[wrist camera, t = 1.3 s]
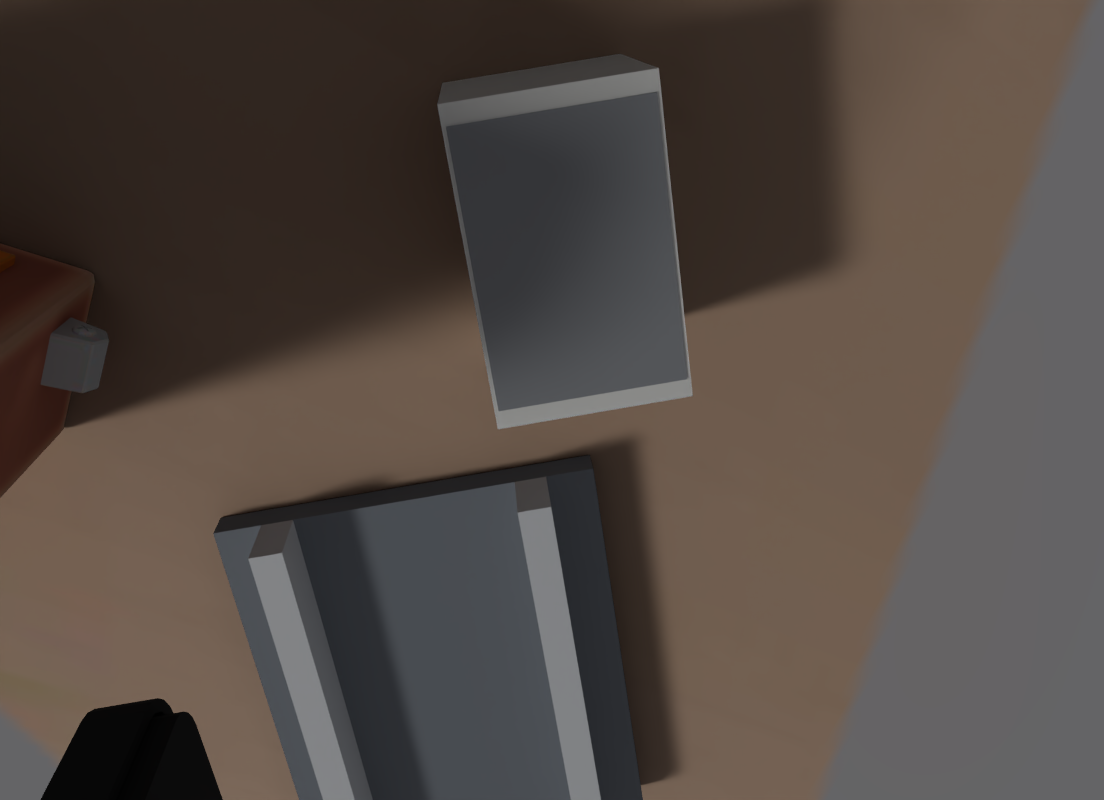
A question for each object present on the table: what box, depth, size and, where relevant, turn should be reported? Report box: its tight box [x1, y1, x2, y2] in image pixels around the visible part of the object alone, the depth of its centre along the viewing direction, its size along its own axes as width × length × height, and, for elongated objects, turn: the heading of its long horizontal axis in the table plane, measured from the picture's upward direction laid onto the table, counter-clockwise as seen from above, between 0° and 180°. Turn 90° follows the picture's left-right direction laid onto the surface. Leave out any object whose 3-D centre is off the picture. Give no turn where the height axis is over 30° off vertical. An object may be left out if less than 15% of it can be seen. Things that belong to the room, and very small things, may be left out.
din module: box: [437, 54, 693, 429], centre depth 27 cm, size 8×5×6 cm, turn 9°
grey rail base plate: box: [213, 455, 643, 800], centre depth 33 cm, size 14×12×3 cm
